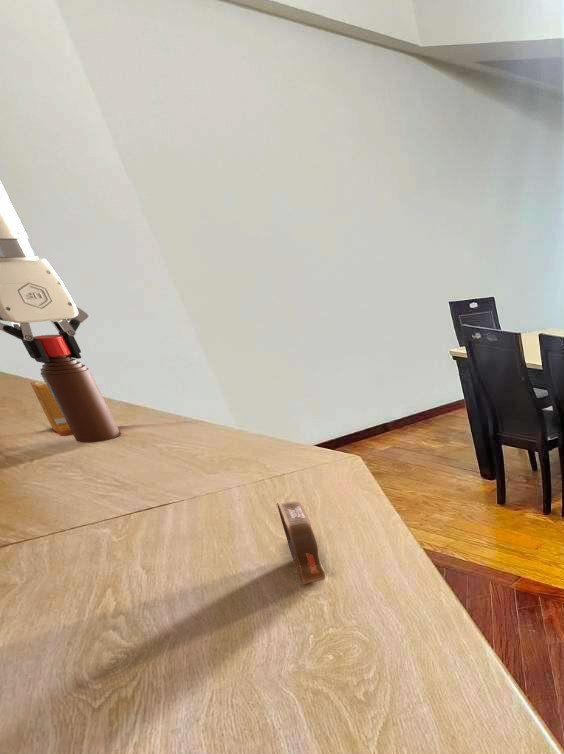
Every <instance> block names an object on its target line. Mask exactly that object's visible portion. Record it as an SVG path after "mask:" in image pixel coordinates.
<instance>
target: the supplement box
mask: <svg viewBox="0 0 564 754" xmlns="http://www.w3.org/2000/svg"><path fill="white" fill-rule="evenodd" d="M30 386H31V388H32V389H33V392H34V394H35V396H36V398H37V400H38V402H39V404H40V406H41V408H42V410H43V413H44V414H45V416H46V419H47V420H48V422H49V425H50V427H51V429H53V432H54V433H55V434H56V435H58V436H60V437H62V436H63V435H64V436H69V435H68V434H70V435H73V433H72V431H71V429H70V427H69V426H68V424H67V422H66V420H65V418H64V416H63V414H62V413H61V411H60V409H59V407H58V405H57V403H56V401H55V399H54V398H53V396H52V394H51V392H50V390H49V388H48V386H47V385H46V383H45V381H44V380H43V381H35V382H30Z"/></svg>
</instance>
